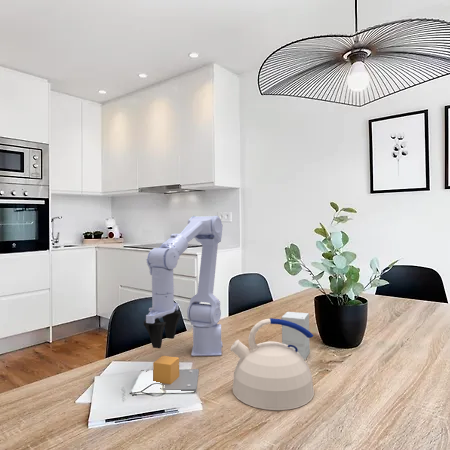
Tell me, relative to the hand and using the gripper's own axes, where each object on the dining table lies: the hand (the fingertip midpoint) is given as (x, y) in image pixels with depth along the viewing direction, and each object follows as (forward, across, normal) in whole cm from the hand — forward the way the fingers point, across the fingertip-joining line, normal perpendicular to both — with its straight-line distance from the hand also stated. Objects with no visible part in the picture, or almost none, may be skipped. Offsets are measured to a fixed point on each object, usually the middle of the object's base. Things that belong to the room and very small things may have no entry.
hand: (163, 342), depth 97 cm
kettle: (+10, -2, +29) cm, 31 cm away
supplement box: (+10, -28, +32) cm, 43 cm away
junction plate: (+10, +2, +2) cm, 10 cm away
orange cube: (+9, +2, +2) cm, 9 cm away
